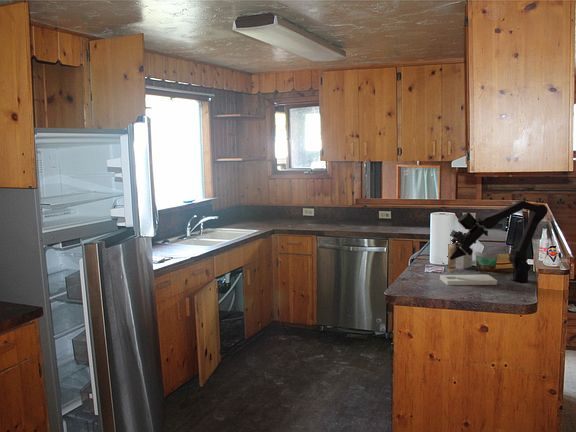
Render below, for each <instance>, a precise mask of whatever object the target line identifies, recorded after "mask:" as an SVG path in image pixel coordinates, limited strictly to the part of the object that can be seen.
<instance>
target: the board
mask: <svg viewBox="0 0 576 432" xmlns="http://www.w3.org/2000/svg"><path fill="white" fill-rule="evenodd" d="M439 280H440V281H442V283H444V284H445V285H447V286H480V285H481V286H483V285H487V286H489V285H492V286H493V285H498V280H497V279H495V278H494V277H492V276H491V275H489V274H440V275H439Z"/></svg>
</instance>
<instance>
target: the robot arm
mask: <svg viewBox="0 0 576 432" xmlns="http://www.w3.org/2000/svg"><path fill="white" fill-rule="evenodd" d="M522 210H526V211H528V221H527V222H526V223H527V224H526V225H525V228H524V230H523V233H522V235H521V238H520V240H519V242H518V245H516V247H515V248H511V249H510V253H509V254H508V257H509V258H508V261H509V262H510V264H511V265H512V268H513V272H512V278H511V279H510V281H514V282H516V283H520V284H521V283H522V284H525V283H530V282H531V280H530V279H529V271H530V270H531V265H530V264H529V263H528V262H527V259H528V249H529V247H530V244H531V242H532V240H533V238H534V235H535V233H536V230H537V228H538V225H539V224H540V223H541V222H542V221H543V220H544V218H545V217H546V215H547V213H548V210H549V209H548V207H547V205H545V204H542V203H537V202H535V203H531V202H529V201H526V200H523V199H519V200H518V201H516V202H514V203H513V204H511V205H510V204H509V205H508V206H506V207H504V208H502V209H499V211H496V212H493V213H488V214H484V215H482V216H481V217H478V218H475V217H474V216H473V215H472V214H471V212H468V211H467V212H466V213H464V214H463V215H460V217H459V218H458V219H457V222H458V223H459V224H460V225H461V226H462V228H464V230H468V232H463V231H460V230H458V231H457V230H454V229H452V230H451V231H450V237H451V238H453V239H452V240H451V239H450V242H451V241H452V242H453V243H452V244H456V251H455V252H454V253H453V254H452V255H451V257H450V258H449V259H450V260H452V259H455V258H458V257H461V256H464V255H467V254H466V253H468V255H469V256H470V255H471V254H472V255H474V254H473V253H474V249H473V250H472V249H471V248H470V247H472V245H473V244H474V245H475V244H476V243H477V241H478V240H479V239H480V238H481V237H482V236H483V235H484V236H485V237H488V236H489V233H488V232H489V230H490V229H493V228H494V227H496V226H497V225H498V224H499V223H500V222H501V221H502V220H504V219H506V218H509V217H511V216H512V215H514V214H516V213H518V212H520V211H522ZM484 228H485V229H484ZM488 229H489V230H488ZM447 257H448V256H447Z"/></svg>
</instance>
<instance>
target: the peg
mask: <svg viewBox="0 0 576 432" xmlns="http://www.w3.org/2000/svg"><path fill="white" fill-rule="evenodd" d="M455 251H456V244H451V243H450V244H448V265H447V268H448V270H447V271H448V274H455V273H456V272H455V270H456V269H457V268H456V267H455V264H456V258H455V259H452V260H450V259H449V258H450V257H451V255H452V254H453V253H454V252H455Z"/></svg>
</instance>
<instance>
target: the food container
mask: <svg viewBox="0 0 576 432" xmlns="http://www.w3.org/2000/svg"><path fill="white" fill-rule="evenodd" d="M473 255H475V259H476V260H475V262H476V263H475V264H476V270H477V271H480V272H485V273H486V272H487V273H488V272H490V273H491V272H495V271H496V267H497V261H498V257H499V256H500V254H499V252H494V253H493V252H487V251H486V252H479V251H474V254H473Z"/></svg>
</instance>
